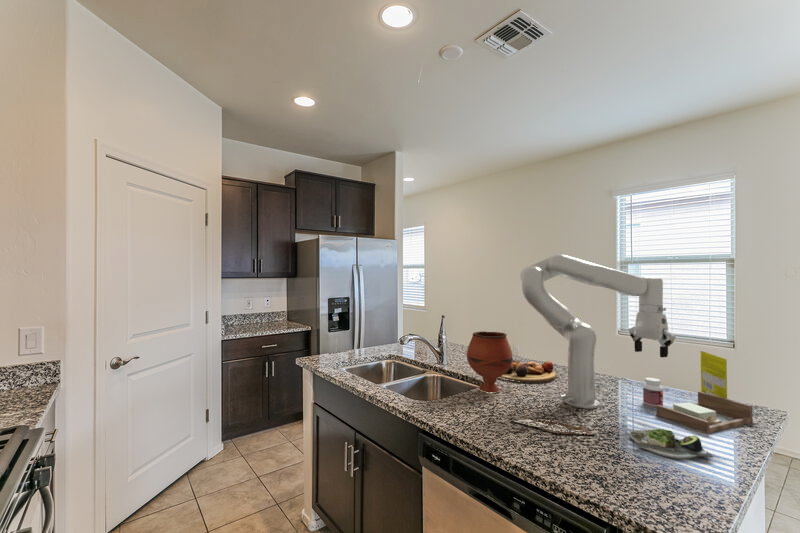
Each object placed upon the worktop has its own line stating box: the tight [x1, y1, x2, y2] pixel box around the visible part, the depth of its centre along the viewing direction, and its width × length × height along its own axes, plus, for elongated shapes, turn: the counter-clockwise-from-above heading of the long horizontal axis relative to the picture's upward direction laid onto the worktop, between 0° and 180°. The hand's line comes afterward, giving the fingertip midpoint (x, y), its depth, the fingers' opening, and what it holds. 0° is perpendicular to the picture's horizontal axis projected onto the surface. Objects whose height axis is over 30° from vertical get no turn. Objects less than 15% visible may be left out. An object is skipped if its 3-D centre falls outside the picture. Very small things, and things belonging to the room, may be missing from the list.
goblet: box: [466, 331, 514, 392], centre depth 157 cm, size 19×19×25 cm
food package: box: [700, 350, 728, 399], centre depth 139 cm, size 15×1×20 cm, turn 168°
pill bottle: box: [642, 377, 664, 409], centre depth 137 cm, size 6×6×11 cm
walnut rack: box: [655, 391, 754, 434], centre depth 124 cm, size 24×16×7 cm, turn 111°
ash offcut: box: [671, 407, 717, 422], centre depth 122 cm, size 8×10×2 cm
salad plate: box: [628, 428, 714, 460], centre depth 107 cm, size 19×18×5 cm
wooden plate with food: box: [500, 360, 557, 384], centre depth 184 cm, size 32×32×8 cm
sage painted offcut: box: [672, 401, 717, 418], centre depth 122 cm, size 7×9×2 cm
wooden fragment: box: [525, 417, 595, 436], centre depth 120 cm, size 26×11×1 cm, turn 62°
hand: (650, 354), depth 138 cm, fingers open, 9 cm apart
